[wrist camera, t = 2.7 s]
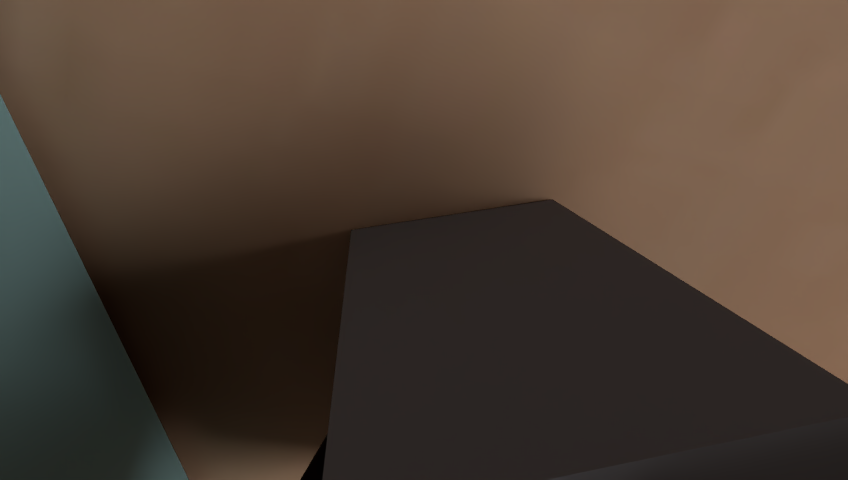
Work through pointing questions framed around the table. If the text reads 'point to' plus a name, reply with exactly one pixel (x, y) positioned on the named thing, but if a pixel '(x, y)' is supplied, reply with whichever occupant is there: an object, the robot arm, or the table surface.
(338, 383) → the gray rectangular block
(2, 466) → the door
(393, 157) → the table surface
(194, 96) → the table surface
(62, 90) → the table surface
